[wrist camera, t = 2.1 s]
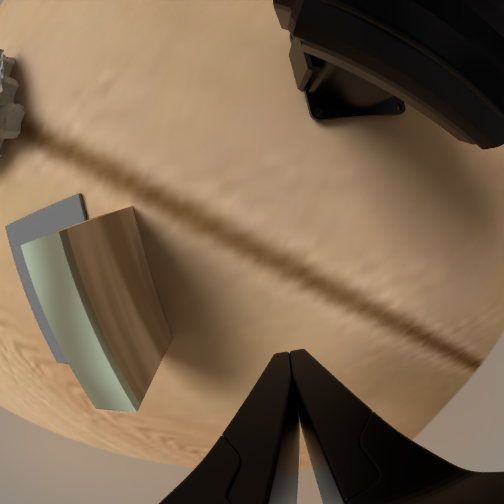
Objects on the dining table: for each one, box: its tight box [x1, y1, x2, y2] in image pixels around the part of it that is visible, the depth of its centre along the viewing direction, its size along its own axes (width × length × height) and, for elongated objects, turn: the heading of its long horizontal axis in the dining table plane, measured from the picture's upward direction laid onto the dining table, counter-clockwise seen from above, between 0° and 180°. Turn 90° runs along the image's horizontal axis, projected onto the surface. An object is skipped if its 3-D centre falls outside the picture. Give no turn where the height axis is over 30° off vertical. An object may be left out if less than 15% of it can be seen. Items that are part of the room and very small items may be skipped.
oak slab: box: [21, 206, 173, 412], centre depth 15 cm, size 3×10×8 cm, turn 11°
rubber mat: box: [5, 193, 87, 363], centre depth 19 cm, size 10×14×1 cm
